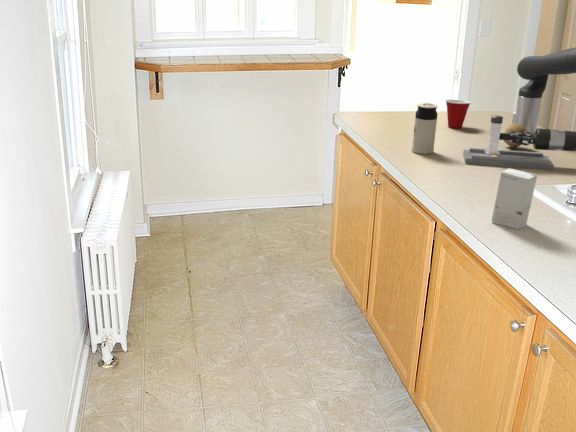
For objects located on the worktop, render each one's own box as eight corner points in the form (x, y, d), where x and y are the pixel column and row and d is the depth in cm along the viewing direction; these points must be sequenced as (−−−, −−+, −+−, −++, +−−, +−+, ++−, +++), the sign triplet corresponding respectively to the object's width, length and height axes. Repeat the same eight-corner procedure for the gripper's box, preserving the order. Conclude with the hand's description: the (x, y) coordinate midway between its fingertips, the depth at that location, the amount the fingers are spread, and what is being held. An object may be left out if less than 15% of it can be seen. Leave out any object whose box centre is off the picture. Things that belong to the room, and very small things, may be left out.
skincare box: (491, 222, 184) (498, 171, 179) (500, 217, 188) (507, 167, 183) (520, 230, 179) (529, 178, 174) (528, 224, 184) (537, 173, 178)
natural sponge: (526, 152, 255) (531, 126, 251) (502, 150, 257) (506, 125, 253) (523, 146, 263) (527, 121, 260) (500, 144, 265) (504, 120, 261)
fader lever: (497, 153, 243) (503, 115, 238) (499, 157, 238) (505, 119, 233) (483, 152, 244) (489, 114, 239) (485, 156, 239) (490, 118, 233)
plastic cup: (468, 126, 293) (472, 99, 289) (466, 131, 284) (470, 103, 280) (443, 123, 297) (446, 97, 292) (440, 128, 287) (444, 101, 283)
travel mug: (435, 150, 253) (440, 104, 247) (430, 155, 246) (435, 107, 240) (414, 148, 256) (419, 101, 250) (409, 152, 249) (414, 105, 243)
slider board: (546, 161, 244) (547, 152, 243) (552, 170, 233) (554, 161, 232) (463, 154, 249) (464, 146, 248) (465, 163, 238) (466, 154, 236)
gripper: (547, 125, 240) (498, 121, 243) (554, 133, 228) (502, 130, 231) (543, 145, 243) (495, 141, 246) (550, 154, 231) (499, 151, 233)
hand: (498, 136), depth 238 cm, fingers closed
